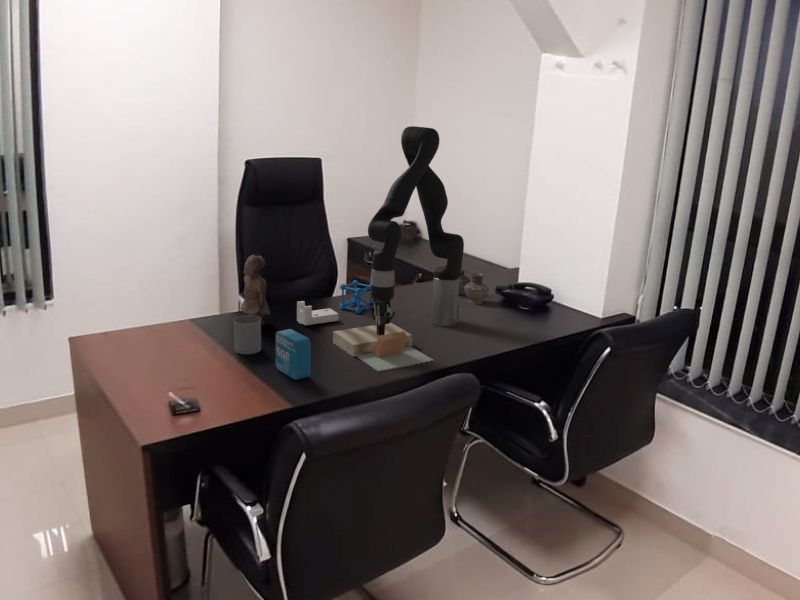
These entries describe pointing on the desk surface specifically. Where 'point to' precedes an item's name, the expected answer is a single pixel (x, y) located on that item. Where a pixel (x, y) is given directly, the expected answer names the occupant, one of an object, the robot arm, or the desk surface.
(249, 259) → the clay figurine
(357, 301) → the molecular structure
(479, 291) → the pottery
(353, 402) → the desk surface
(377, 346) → the tile
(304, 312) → the bracket
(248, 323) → the cup
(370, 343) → the light wood flat block
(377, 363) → the mat
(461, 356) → the desk surface
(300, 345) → the data package
